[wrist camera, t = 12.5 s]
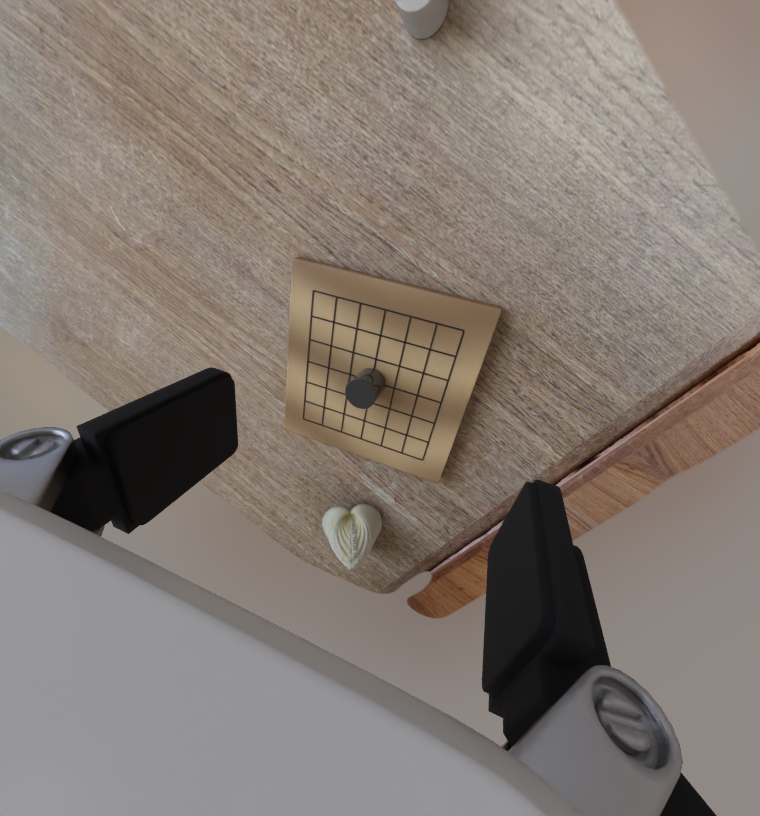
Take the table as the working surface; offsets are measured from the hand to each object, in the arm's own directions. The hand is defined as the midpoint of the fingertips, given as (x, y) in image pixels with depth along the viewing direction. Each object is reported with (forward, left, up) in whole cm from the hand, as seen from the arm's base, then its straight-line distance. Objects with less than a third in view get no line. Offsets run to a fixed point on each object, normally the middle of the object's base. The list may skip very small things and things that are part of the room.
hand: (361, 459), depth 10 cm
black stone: (+8, -6, -22) cm, 24 cm away
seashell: (+30, -5, -24) cm, 39 cm away
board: (+8, -6, -24) cm, 26 cm away
